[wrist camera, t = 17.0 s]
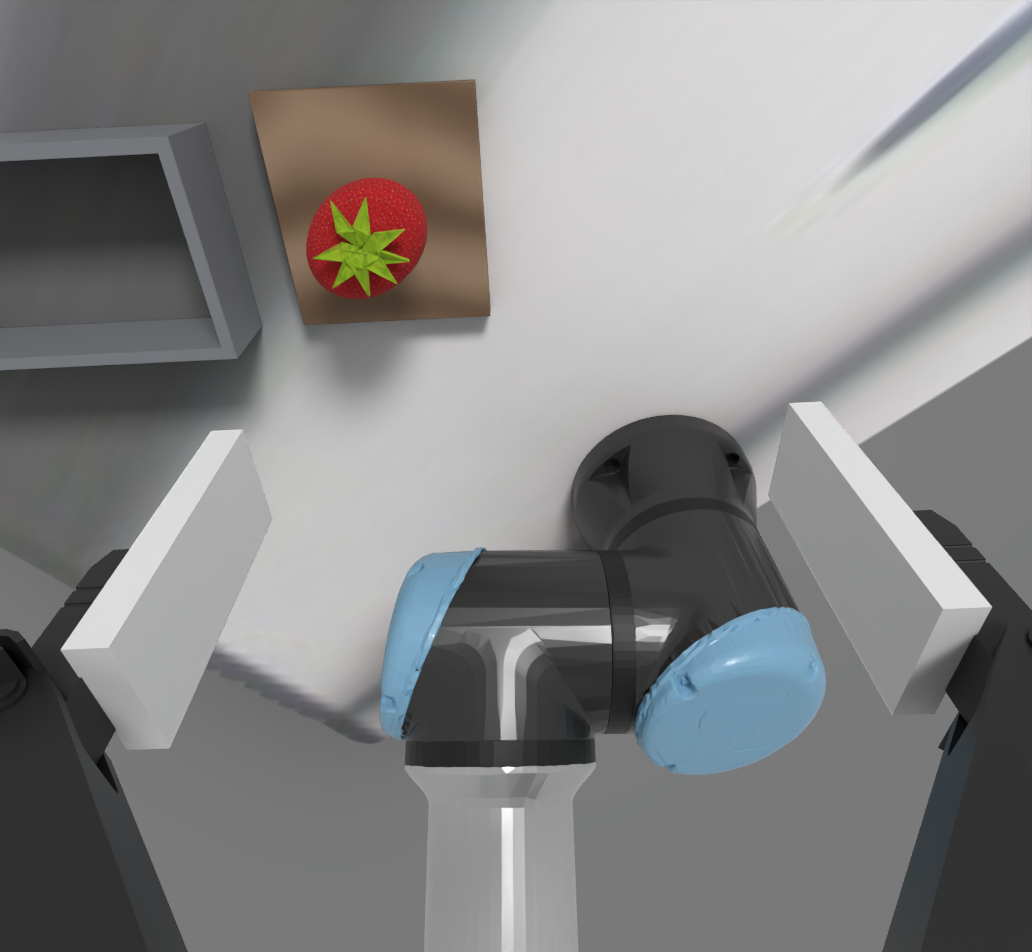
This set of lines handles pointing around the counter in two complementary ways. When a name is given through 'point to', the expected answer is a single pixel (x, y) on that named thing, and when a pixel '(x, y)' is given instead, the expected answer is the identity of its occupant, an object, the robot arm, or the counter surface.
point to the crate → (206, 237)
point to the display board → (390, 155)
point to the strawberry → (366, 238)
